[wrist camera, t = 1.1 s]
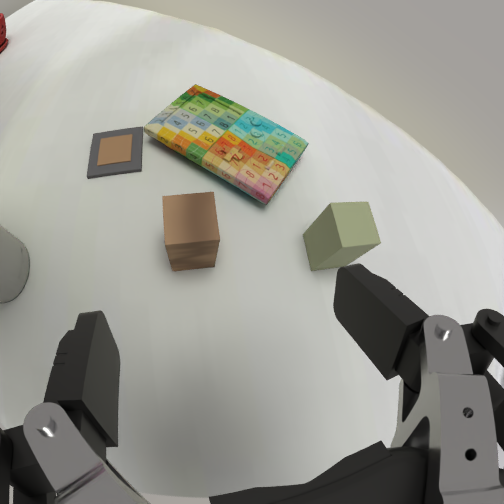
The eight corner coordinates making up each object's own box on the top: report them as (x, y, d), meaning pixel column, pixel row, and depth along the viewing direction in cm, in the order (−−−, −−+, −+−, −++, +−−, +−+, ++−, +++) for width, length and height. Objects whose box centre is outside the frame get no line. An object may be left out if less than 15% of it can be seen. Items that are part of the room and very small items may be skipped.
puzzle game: (270, 196, 35) (143, 122, 35) (262, 213, 39) (146, 144, 40) (310, 139, 39) (195, 79, 40) (300, 158, 44) (194, 100, 44)
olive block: (311, 271, 37) (342, 247, 29) (302, 234, 39) (330, 202, 31) (344, 266, 39) (380, 242, 30) (335, 231, 40) (368, 201, 32)
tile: (87, 178, 36) (86, 175, 35) (94, 136, 38) (93, 133, 38) (141, 171, 38) (140, 168, 37) (143, 129, 40) (142, 125, 39)
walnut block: (172, 271, 34) (165, 245, 26) (169, 232, 36) (162, 196, 27) (214, 266, 35) (219, 239, 27) (209, 228, 37) (213, 191, 29)
